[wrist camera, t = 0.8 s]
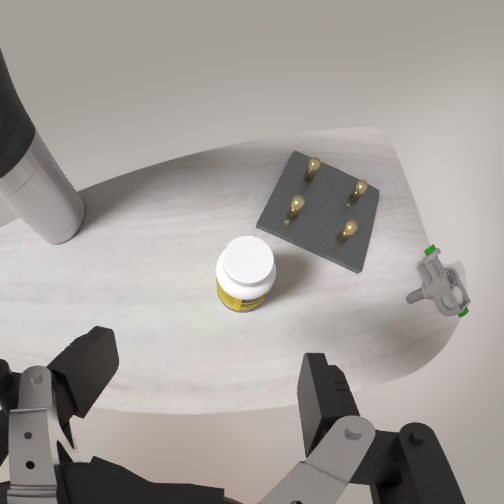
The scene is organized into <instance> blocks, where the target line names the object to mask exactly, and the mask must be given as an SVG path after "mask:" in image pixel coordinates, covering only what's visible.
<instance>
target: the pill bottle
mask: <svg viewBox="0 0 504 504" xmlns="http://www.w3.org/2000/svg"><path fill="white" fill-rule="evenodd" d="M275 277H276V265H275V261H274V255H273V252H272V250H271V248H270V247H269V245H268V244H267V243H266V242H265V241H263V240H262V239H260V238H258V237H254V236H241V237H238V238H236V239H234V240H232V241H231V242H230V243H229V244H228V245H227V247H226V249H225V250H224V251H223V252H222V253H221V254H220V256H219V258H218V260H217V264H216V282H217V292H218V296H219V298H220V300H221V302H222V303H223V305H224V306H225V307H227V308H228V309H230V310H232V311H234V312H238V313H246V312H250V311H252V310H254V309H256V308H257V307H258V306H259V305H260V304H261V303H262V302H263V300H264V299H265V297H266V295H267V294H268V292H269V290H270V289H271V287H272V285H273V283H274V281H275Z"/></svg>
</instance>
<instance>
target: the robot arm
mask: <svg viewBox="0 0 504 504" xmlns="http://www.w3.org/2000/svg"><path fill="white" fill-rule="evenodd" d="M0 197H1V199H2V200H3V201H4V202H5V203H6V204H7V205H8V206H9V207H10V208H11V209H12V210H13V211H14V212H15V213H16V214H17V215H18V216H19V217H20V218H21V219H22V220H24V221H25V222H26V223H27V224H28V225H29V226H30V227H31V228H32V229H33V230H34V231H35V232H37V233H38V234H39V235H40V236H41V237H42V238H43V239H45V240H46V241H47V242H48V243H51V244H61V243H63V242H65V241H67V240H69V239H70V238H71V237H72V236H73V235H74V234H75V233H76V232H77V231H78V229H79V228H80V226H81V224H82V222H83V219H84V215H85V206H84V202H83V201H82V199H81V198H80V196H79V195H78V193H77V192H76V191H75V189H74V188H73V186H72V185H71V183H70V182H69V181H68V179H67V177H66V176H65V175H64V173H63V172H62V170H61V169H60V167H59V165H58V164H57V162H56V161H55V159H54V158H53V156H52V155H51V153H50V151H49V150H48V148H47V147H46V145H45V143H44V142H43V140H42V139H41V137H40V135H39V134H38V132H37V130H36V128H35V126H34V125H33V123H32V122H31V119H30V118H29V116H28V114H27V112H26V110H25V109H24V107H23V105H22V103H21V101H20V99H19V97H18V95H17V93H16V90H15V88H14V86H13V83H12V81H11V78H10V75H9V72H8V69H7V67H6V63H5V61H4V58H3V55H2V52H1V49H0ZM118 366H119V357H118V352H117V347H116V341H115V336H114V332H113V330H112V329H109V328H104V327H100V326H95V327H94V328H93V329H92V330H90V331H89V332H88V333H87V334H85V335H82V336H80V337H78V338H76V339H75V340H74V341H73V342H72V343H71V344H70V345H69V346H67V347H66V348H65V349H64V351H62V352H61V353H60V354H59V355H58V356H57V357H56V358H55V359H54V360H53V361H52V362H51V363H50V364H49V365H48V366H47V367H44V366H32V367H30V368H28V369H26V370H25V371H24V372H23V373H16V372H11V370H10V367H9V365H8V363H7V362H6V361H5V360H3V359H0V406H1V408H2V409H1V410H0V466H1V465H2V463H3V461H4V460H5V458H6V457H7V455H8V454H9V470H10V481H7V482H2V483H0V504H242V503H240V502H238V501H236V500H233V499H231V498H228V497H225V496H224V489H223V488H214V487H206V486H200V485H194V484H174V483H173V484H172V483H153V482H149V481H147V480H145V479H143V478H142V477H140V476H138V475H136V474H134V473H133V472H131V471H129V470H127V469H126V468H124V467H122V466H120V465H117V464H114V463H111V462H108V461H106V460H103V459H101V458H98V457H96V456H93V458H92V460H91V462H90V463H88V462H82V461H81V459H80V456H79V453H78V448H77V444H76V439H75V434H74V429H73V423H72V421H71V419H70V418H71V417H72V415H75V416H78V417H80V418H84V417H85V416H86V414H87V413H88V411H89V410H90V408H91V407H92V405H93V404H94V403H95V401H96V400H97V398H98V397H99V395H100V394H101V393H102V391H103V390H104V388H105V387H106V385H107V384H108V383H109V381H110V380H111V378H112V377H113V376H114V374H115V373H116V371H117V369H118ZM297 397H298V404H299V410H300V418H301V425H302V432H303V440H304V447H305V454H306V457H307V459H306V460H305V461H304V462H302V461H301V462H299V463H298V464H297V465H296V466H295V467H294V468H293V469H292V470H291V471H290V472H289V473H288V474H287V475H286V476H285V477H284V478H283V479H282V480H281V481H280V482H279V483H278V484H277V485H276V486H275V488H273V489H272V490H271V491H270V492H269V493H268V494H267V495H266V496H265V497H264V498H263V499H262V500H261V501H260V502H259V503H258V504H335V503H336V501H337V500H338V498H339V497H340V496H341V494H342V493H343V491H344V490H345V488H346V487H347V485H348V483H354V484H364V485H369V486H370V491H371V496H372V501H373V504H465V501H464V498H463V496H462V494H461V491H460V489H459V486H458V483H457V481H456V479H455V477H454V474H453V472H452V470H451V467H450V465H449V463H448V461H447V458H446V456H445V454H444V452H443V450H442V448H441V446H440V443H439V441H438V439H437V437H436V435H435V433H434V432H433V430H432V429H431V428H430V427H428V426H427V425H425V424H422V423H415V422H414V423H409V424H406V425H405V426H403V427H402V428H401V430H400V432H399V433H398V432H386V431H379V430H376V429H375V428H374V426H373V425H372V423H371V422H369V421H368V420H367V419H365V418H363V417H360V414H359V411H358V409H357V406H356V404H355V401H354V398H353V396H352V393H351V391H350V388H349V385H348V383H347V380H346V378H345V375H344V373H343V372H342V371H341V370H340V369H339V368H338V367H337V366H336V365H328V363H327V360H326V358H325V355H324V353H305V354H304V357H303V362H302V366H301V371H300V376H299V380H298V387H297Z"/></svg>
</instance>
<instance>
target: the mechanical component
mask: <svg viewBox="0 0 504 504" xmlns="http://www.w3.org/2000/svg"><path fill="white" fill-rule="evenodd" d="M435 249H436V248H435V246H434V245H432V246H430V247H429V248H428V249H426V250H425V251H424V252H425V253H426V255H428V254H429V255H428V256H426V257H425V258H424V259H423V260H422V261H420V262H419V263H418V271H419V273H420V275H421V277H422V278H423V280H424V283H423V285H422V288H420V289H418V290H416V291H414V292H412V293H411V294H409V295H408V296H407V298H406V299H407V302H408V303H409V304H412V303H414V302H417V301H419V300H421V299H424V298H426V299H432V298H433V299H434V300H435V302H436V304H437V306H438V308H439V310H440V312H441V313H442V314H443V315H445V316H450V315H456V314H458V315H459V317H462V316H464V315H466V314H467V313H468V308H467V306H468V304H469V303H470V299H469V297H468V295H467V293H466V291H465V289H464V287H463V285H462V283H461V281H460V279H459V276H458V273H457V272H456V270H455V269H453V268H450V267H449V268H448V267H447V268H446V269H444V268H443V266H442V264H441V263H440V261H439V259H438V256H437V255H438V254H439V253H440V250H439V248H437V249H436V250H435ZM433 264H434V265H435V266H436V269H434V267H433Z"/></svg>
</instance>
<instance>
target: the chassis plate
mask: <svg viewBox="0 0 504 504" xmlns="http://www.w3.org/2000/svg"><path fill="white" fill-rule="evenodd" d="M378 194H379V190H378V189H376V188H374V187H372V186H370V185H368V184H367V182H366V181H364V180H358V179H356V178H354V177H352V176H350V175H348V174H346V173H344V172H342V171H340V170H338V169H336V168H333V167H331V166H329V165H327V164H325V163H322V162H320V160H319V159H318V158H311V157H309V156H306V155H304V154H302V153H299V152H297V151H294V152H293V154H292V156H291V158H290V160H289V162H288V164H287V166H286V168H285V170H284V172H283V174H282V176H281V177H280V179H279V181H278V183H277V185H276V187H275V189H274V191H273V193H272V195H271V197H270V199H269V201H268V203H267V205H266V207H265V209H264V211H263V212H262V214H261V216H260V218H259V220H258V222H257V225H256V228H259V229H261V230H263V231H265V232H268V233H270V234H272V235H274V236H277V237H279V238H281V239H283V240H286V241H288V242H290V243H292V244H295V245H297V246H299V247H301V248H303V249H306V250H308V251H310V252H312V253H314V254H317V255H319V256H321V257H323V258H325V259H327V260H330V261H332V262H334V263H336V264H338V265H340V266H343V267H345V268H347V269H349V270H351V271H353V272H355V273H357V274H358V273H359V272H360V271H361V268H362V265H363V261H364V257H365V253H366V249H367V245H368V241H369V237H370V232H371V228H372V223H373V219H374V214H375V209H376V204H377V199H378Z"/></svg>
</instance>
